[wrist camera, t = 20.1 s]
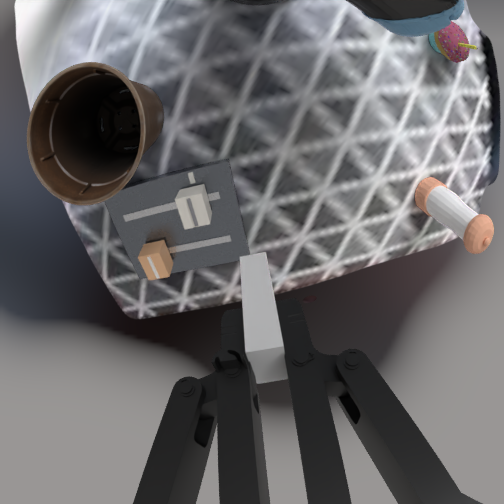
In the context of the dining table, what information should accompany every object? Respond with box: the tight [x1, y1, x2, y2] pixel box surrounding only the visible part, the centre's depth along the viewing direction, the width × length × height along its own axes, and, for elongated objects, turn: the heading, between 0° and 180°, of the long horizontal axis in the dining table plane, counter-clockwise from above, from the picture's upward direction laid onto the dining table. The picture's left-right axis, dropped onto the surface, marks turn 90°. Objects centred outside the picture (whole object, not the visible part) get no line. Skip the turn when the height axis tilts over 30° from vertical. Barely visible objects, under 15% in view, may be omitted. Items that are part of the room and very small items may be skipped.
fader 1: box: [138, 240, 173, 280], centre depth 45 cm, size 5×4×4 cm
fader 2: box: [175, 184, 212, 229], centre depth 40 cm, size 5×4×4 cm
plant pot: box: [27, 62, 164, 205], centre depth 28 cm, size 16×16×16 cm
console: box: [105, 159, 250, 279], centre depth 45 cm, size 18×22×2 cm
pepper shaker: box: [415, 177, 494, 254], centre depth 38 cm, size 7×7×19 cm
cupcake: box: [429, 21, 479, 63], centre depth 23 cm, size 9×8×12 cm
